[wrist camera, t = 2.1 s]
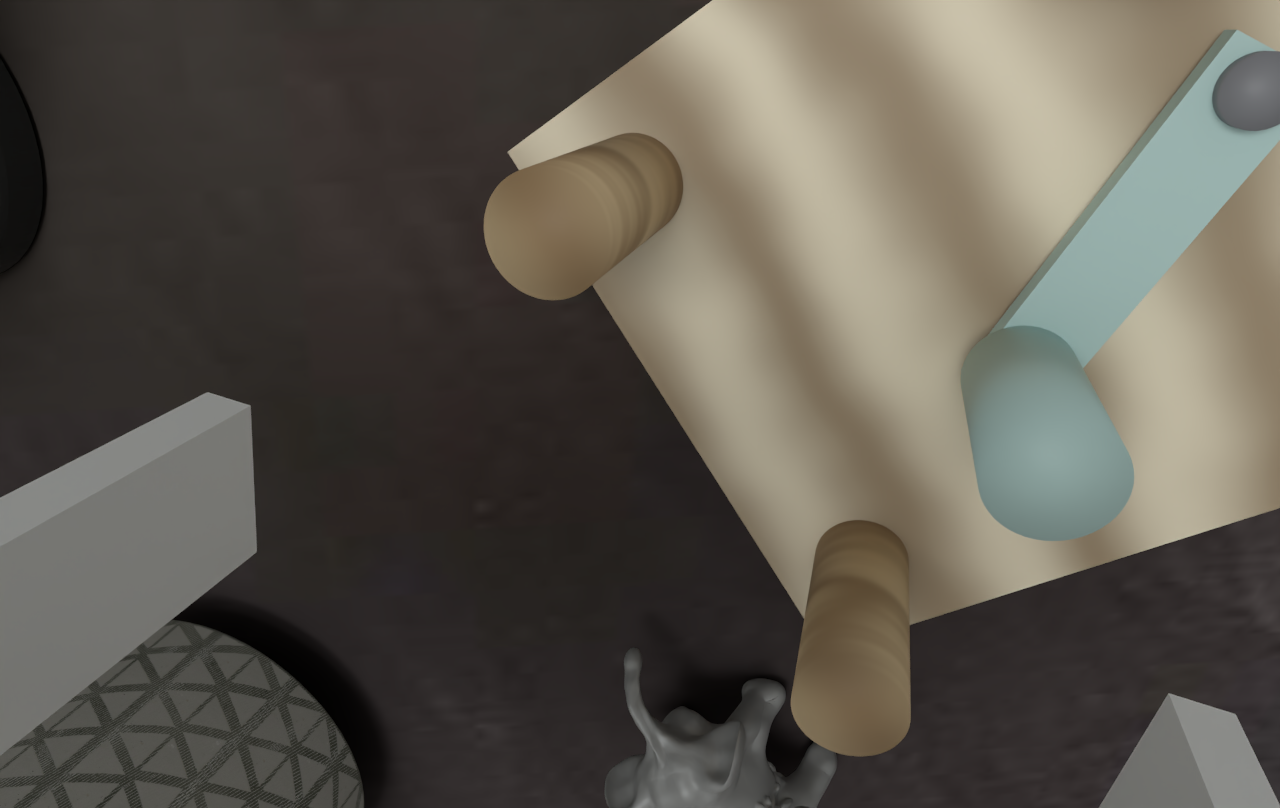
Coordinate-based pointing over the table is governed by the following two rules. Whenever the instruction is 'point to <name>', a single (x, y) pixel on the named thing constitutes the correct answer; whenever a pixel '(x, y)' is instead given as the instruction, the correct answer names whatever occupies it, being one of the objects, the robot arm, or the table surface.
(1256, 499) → the stool
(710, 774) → the gray elephant figurine
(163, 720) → the planter
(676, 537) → the table surface
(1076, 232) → the hinged leg
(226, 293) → the table surface
